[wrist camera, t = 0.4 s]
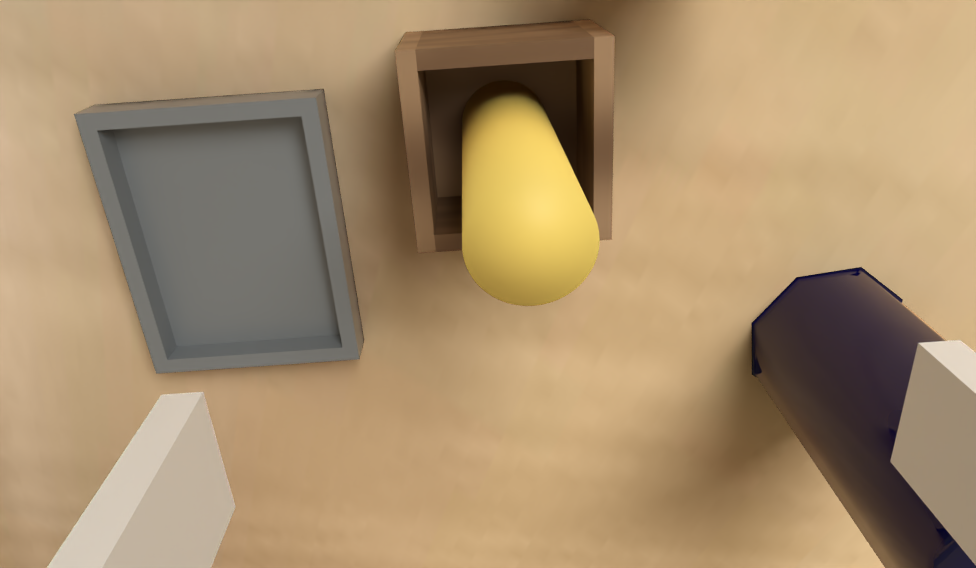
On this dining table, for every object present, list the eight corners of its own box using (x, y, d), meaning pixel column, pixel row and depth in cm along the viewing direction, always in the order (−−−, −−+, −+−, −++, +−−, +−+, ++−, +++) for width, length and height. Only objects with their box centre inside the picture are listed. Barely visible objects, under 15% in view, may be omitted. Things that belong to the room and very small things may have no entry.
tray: (94, 104, 34) (74, 114, 32) (323, 88, 34) (316, 97, 32) (169, 353, 40) (156, 373, 39) (364, 340, 40) (359, 359, 39)
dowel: (458, 83, 33) (456, 183, 20) (544, 77, 33) (600, 173, 20) (465, 166, 35) (467, 310, 22) (546, 160, 35) (599, 300, 22)
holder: (405, 32, 33) (394, 51, 28) (590, 19, 33) (614, 36, 28) (424, 206, 37) (417, 253, 32) (589, 195, 37) (611, 239, 32)
